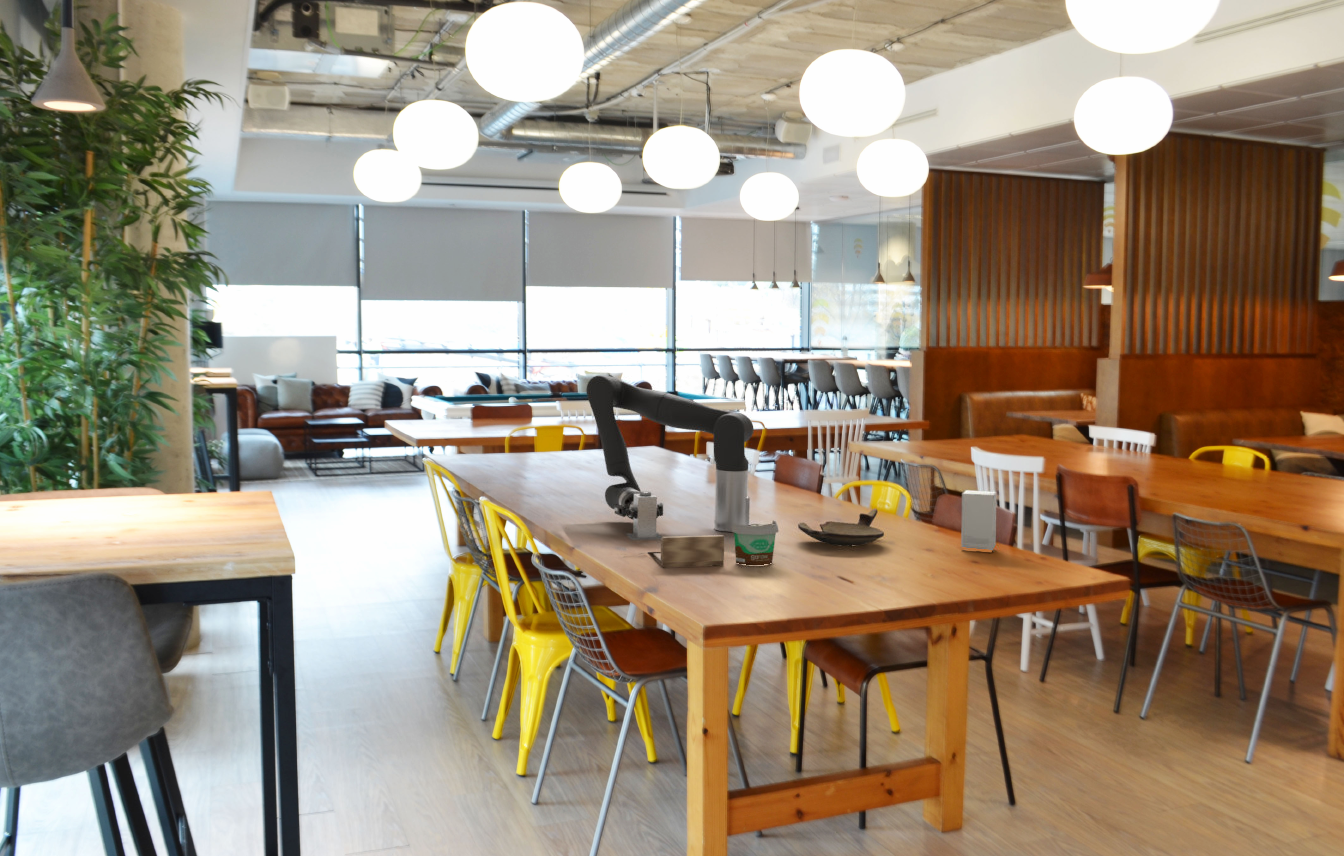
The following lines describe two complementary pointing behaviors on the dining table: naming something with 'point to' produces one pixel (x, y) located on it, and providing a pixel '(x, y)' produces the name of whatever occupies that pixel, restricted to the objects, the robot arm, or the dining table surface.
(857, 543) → the oil lamp
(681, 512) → the dining table surface
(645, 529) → the block
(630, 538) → the stand
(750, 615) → the dining table surface
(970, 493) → the skincare box
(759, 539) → the food container
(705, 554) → the dock
